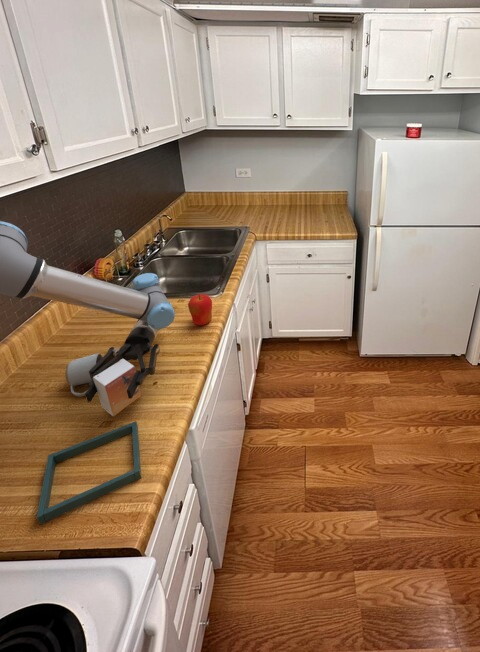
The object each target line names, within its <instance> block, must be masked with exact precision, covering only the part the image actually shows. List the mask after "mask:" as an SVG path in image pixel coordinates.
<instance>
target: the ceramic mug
mask: <svg viewBox="0 0 480 652" xmlns="http://www.w3.org/2000/svg"><path fill="white" fill-rule="evenodd" d="M103 357H104V356H103V355H102V354H101V353H100V352H98V353H94V354H91V355H87V356H84V357H80V358H76V359H73V360H71V361H70V362H68V363H67V365H66V367H65V371H64V372H65V374H64V375H65V380H66V383H67V385H69V386H70V391H71V393H72V395H73V396H75V397H84V396H85V393H86V392H87V390H85V391H83V392H75V386H80V385H84V384H89V383H90V381H91V380H92V379H91V377H90V374H89V371H90V370H91V369H92V368H93V367H94V366H95V365H96V364H97V363H98V362H99V361H100V360H101V359H102V358H103ZM85 397H86V396H85Z"/></svg>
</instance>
